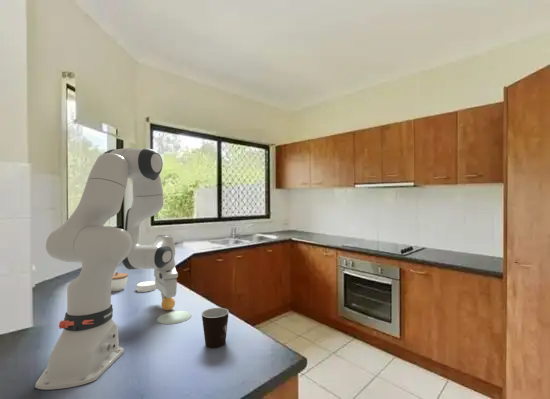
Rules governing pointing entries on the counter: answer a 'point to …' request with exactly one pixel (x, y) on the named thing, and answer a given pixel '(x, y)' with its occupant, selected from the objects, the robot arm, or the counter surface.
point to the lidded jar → (119, 281)
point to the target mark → (174, 317)
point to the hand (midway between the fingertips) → (165, 302)
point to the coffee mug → (215, 326)
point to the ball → (168, 303)
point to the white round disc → (146, 286)
